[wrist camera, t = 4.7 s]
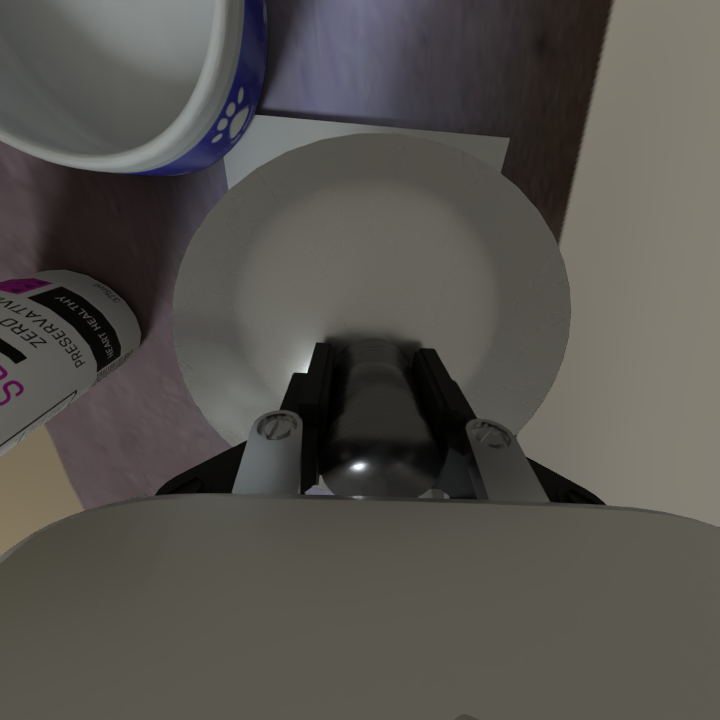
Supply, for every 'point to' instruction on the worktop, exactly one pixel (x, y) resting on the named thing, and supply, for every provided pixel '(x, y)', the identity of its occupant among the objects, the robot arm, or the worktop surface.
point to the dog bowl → (130, 81)
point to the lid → (371, 299)
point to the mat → (286, 134)
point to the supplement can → (56, 345)
